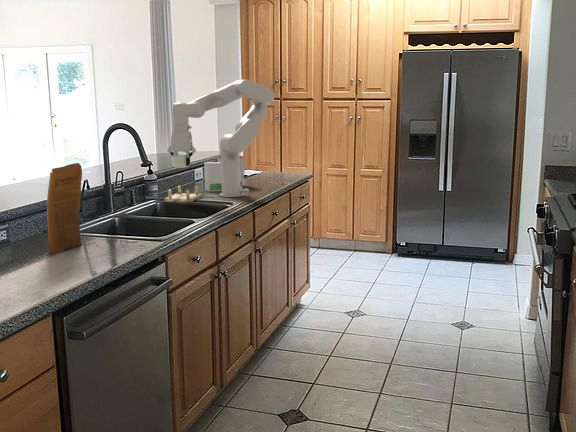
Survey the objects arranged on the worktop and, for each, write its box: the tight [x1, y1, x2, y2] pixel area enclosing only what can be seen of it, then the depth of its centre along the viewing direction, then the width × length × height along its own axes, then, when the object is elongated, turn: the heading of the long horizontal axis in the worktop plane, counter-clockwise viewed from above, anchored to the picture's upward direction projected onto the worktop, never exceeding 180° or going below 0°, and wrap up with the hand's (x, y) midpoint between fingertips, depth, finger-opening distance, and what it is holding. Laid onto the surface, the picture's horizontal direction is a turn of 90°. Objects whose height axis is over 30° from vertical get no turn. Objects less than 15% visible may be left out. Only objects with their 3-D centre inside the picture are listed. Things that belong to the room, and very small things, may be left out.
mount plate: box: [163, 185, 203, 203], centre depth 310 cm, size 14×17×6 cm
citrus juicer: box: [216, 155, 245, 186], centre depth 355 cm, size 16×17×20 cm
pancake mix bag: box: [46, 162, 83, 254], centre depth 206 cm, size 7×19×28 cm, turn 162°
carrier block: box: [173, 153, 191, 169], centre depth 307 cm, size 5×10×6 cm, turn 172°
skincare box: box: [203, 161, 222, 193], centre depth 337 cm, size 8×7×16 cm
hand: (182, 165), depth 307 cm, fingers closed on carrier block, 5 cm apart
